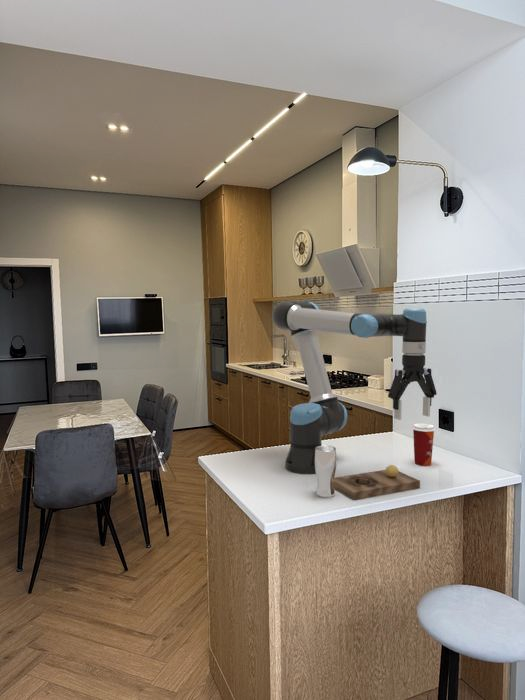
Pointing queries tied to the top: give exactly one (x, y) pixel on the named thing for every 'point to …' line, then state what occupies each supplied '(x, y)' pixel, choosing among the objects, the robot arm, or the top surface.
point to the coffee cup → (423, 443)
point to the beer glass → (325, 470)
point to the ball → (391, 470)
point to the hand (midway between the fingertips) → (412, 417)
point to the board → (374, 484)
